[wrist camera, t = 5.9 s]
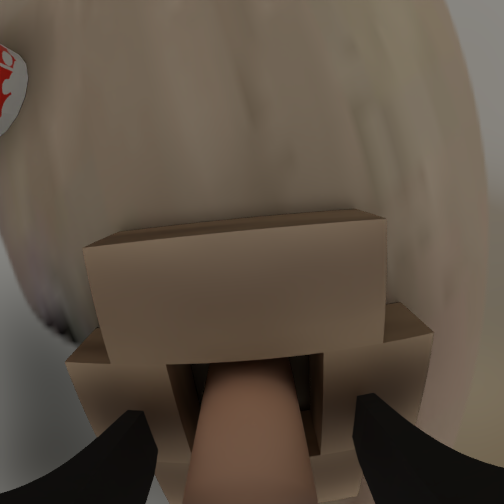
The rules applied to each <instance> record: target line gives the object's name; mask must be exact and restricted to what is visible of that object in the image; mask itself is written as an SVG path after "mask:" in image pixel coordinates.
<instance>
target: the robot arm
mask: <svg viewBox="0 0 504 504" xmlns="http://www.w3.org/2000/svg"><path fill="white" fill-rule="evenodd" d="M352 438H353V443H354V447H355V451H356V454H357V458H358V462H359V464H360V467H361V469H362V472H363V474H364V477H365V479H366V481H367V484H368V486H369V489H370V491H371V494H372V496H373V499H374V501H375V504H504V468H503V467H498V466H495V465H491V464H488V463H485V462H482V461H479V460H477V459H474V458H471V457H469V456H466V455H464V454H461V453H459V452H457V451H455V450H454V449H452V448H450V447H448V446H446V445H444V444H442V443H440V442H439V441H437V440H435V439H434V438H432V437H431V436H429V435H427V434H426V433H424V432H423V431H421V430H420V429H419V428H417V427H416V426H415V425H413V424H412V423H411V422H409V421H408V420H407V419H405V418H404V417H403V416H401V415H400V414H399V413H398V412H397V411H395V410H394V409H393V408H392V407H391V406H389V405H388V404H387V403H386V402H385V401H383V400H382V399H381V398H380V397H379V396H377V395H376V394H375V393H369V394H364V395H359V396H357V399H356V409H355V418H354V426H353V434H352ZM157 455H158V448H157V445H156V443H155V440H154V438H153V435H152V433H151V430H150V427H149V425H148V422H147V419H146V416H145V414H144V411H139V410H127V411H126V412H125V413H124V414H122V415H121V416H120V417H119V418H118V419H117V420H116V421H115V422H114V423H113V424H112V425H110V426H109V427H108V428H107V429H106V430H105V431H104V432H103V433H102V434H101V435H99V436H98V437H97V438H96V439H95V440H94V441H93V442H92V443H91V444H89V445H88V446H87V447H85V448H84V449H83V450H82V451H80V452H79V453H78V454H77V455H75V456H74V457H73V458H71V459H70V460H69V461H67V462H66V463H64V464H63V465H61V466H60V467H58V468H57V469H55V470H53V471H52V472H50V473H48V474H46V475H45V476H43V477H41V478H39V479H37V480H34V481H32V482H30V483H28V484H26V485H24V486H21V487H19V488H16V489H13V490H10V491H7V492H4V493H1V494H0V504H145V503H146V500H147V496H148V494H149V490H150V487H151V484H152V481H153V477H154V474H155V468H156V463H157Z"/></svg>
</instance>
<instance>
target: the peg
mask: <svg viewBox="0 0 504 504" xmlns="http://www.w3.org/2000/svg"><path fill="white" fill-rule="evenodd" d="M183 504H318V499H317V493H316V488H315V483H314V478H313V473H312V468H311V463H310V458H309V453H308V447H307V442H306V437H305V432H304V428H303V423H302V418H301V413H300V408H299V403H298V398H297V393H296V388H295V383H294V379H293V374H292V369H291V364H290V361H289V359H288V357H282V358H272V359H261V360H249V361H235V362H219V363H210V365H209V369H208V374H207V379H206V384H205V389H204V394H203V399H202V404H201V409H200V414H199V419H198V424H197V429H196V434H195V439H194V444H193V449H192V454H191V459H190V465H189V470H188V475H187V480H186V486H185V491H184V496H183Z"/></svg>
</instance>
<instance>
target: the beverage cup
mask: <svg viewBox="0 0 504 504" xmlns="http://www.w3.org/2000/svg"><path fill="white" fill-rule="evenodd" d="M27 82H28V74H27V66H26V63H25V62H24V60H23V59H22V58H21V56H20V55H19V54H17V53H15V52H14V51H12V50H10V49H8V48H7V47H5V46H3V45H1V44H0V136H1V135H2V134H3V133H5V132H6V131H7V130H8V128H9V127H10V125H11V124H12V123H13V121H14V120H15V118H16V117H17V115H18V113H19V110H20V108H21V105H22V103H23V101H24V98H25V94H26V88H27Z"/></svg>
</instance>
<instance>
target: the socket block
mask: <svg viewBox="0 0 504 504" xmlns="http://www.w3.org/2000/svg"><path fill="white" fill-rule="evenodd" d="M82 249H83V255H84V260H85V265H86V270H87V275H88V280H89V284H90V289H91V293H92V298H93V302H94V306H95V310H96V314H97V318H98V322H99V325H100V328H96V329H95V330H94V331H93V332H92V333H91V334H90V335H89V336H88V337H87V338H86V339H85V341H84V342H83V343H82V344H81V345H80V346H79V347H78V348H77V349H76V350H75V351H74V352H73V354H72V355H71V356H70V357H69V358H68V359H67V360H66V361H65V364H66V367H67V369H68V372H69V375H70V377H71V380H72V382H73V385H74V387H75V390H76V392H77V394H78V397H79V399H80V402H81V404H82V406H83V409H84V411H85V413H86V415H87V418H88V420H89V422H90V424H91V426H92V428H93V430H94V432H95V434H96V436H97V437H98V436H99V435H101V434H102V433H103V432H104V431H105V430H106V429H107V428H108V427H109V426H110V425H112V424H113V423H114V422H115V421H116V420H117V419H118V418H119V417H120V416H121V415H122V414H124V413H125V412H126V411H127V410H139V411H144V414H145V416H146V419H147V422H148V425H149V427H150V430H151V433H152V435H153V438H154V440H155V443H156V445H157V448H158V455H157V463H156V468H155V476H156V478H157V480H158V482H159V484H160V486H161V488H162V490H163V492H164V494H165V496H166V498H167V500H168V501H169V503H170V504H183V496H184V491H185V486H186V480H187V475H188V470H189V465H190V459H191V454H192V449H193V444H194V439H195V434H196V429H197V424H198V419H199V414H200V409H201V408H200V404H199V400H198V396H197V392H196V387H195V383H194V378H193V374H192V369H191V364H198V363H219V362H235V361H249V360H261V359H272V358H282V357H291V356H300V355H308V354H309V364H310V410H308V411H300V413H301V418H302V423H303V428H304V432H305V437H306V442H307V447H308V453H309V458H310V463H311V468H312V473H313V478H314V483H315V488H316V493H317V499H318V503H322V502H328V501H334V500H340V499H345V498H350V497H354V496H358V492H359V488H360V484H361V480H362V476H363V472H362V469H361V467H360V464H359V462H358V458H357V454H356V451H355V447H354V443H353V438H352V434H353V426H354V418H355V409H356V399H357V396H359V395H364V394H369V393H375V394H376V395H377V396H379V397H380V398H381V399H382V400H383V401H385V402H386V403H387V404H388V405H389V406H391V407H392V408H393V409H394V410H395V411H397V412H398V413H399V414H400V415H401V416H403V417H404V418H405V419H407V420H408V421H409V422H411V423H412V424H413V425H415V424H416V420H417V416H418V412H419V408H420V404H421V400H422V396H423V391H424V387H425V382H426V377H427V372H428V367H429V361H430V356H431V350H432V344H433V337H434V332H433V331H432V330H431V329H430V328H429V327H427V326H426V325H425V324H424V323H423V322H422V321H421V320H420V319H419V318H417V317H416V316H415V315H414V314H413V313H412V312H411V311H410V310H408V309H407V308H406V307H405V306H404V305H403V304H402V303H401V302H399V303H392V304H386V282H387V219H386V218H383V217H380V216H376V215H373V214H370V213H367V212H364V211H360V210H357V209H346V210H332V211H319V212H306V213H294V214H282V215H270V216H259V217H249V218H238V219H228V220H218V221H208V222H199V223H190V224H181V225H172V226H163V227H154V228H146V229H138V230H130V231H122V232H117V233H115V234H112V235H110V236H108V237H106V238H103V239H101V240H99V241H97V242H94V243H92V244H90V245H88V246H86V247H83V248H82Z"/></svg>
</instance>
